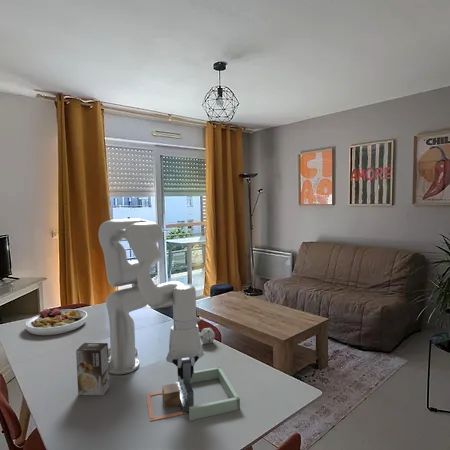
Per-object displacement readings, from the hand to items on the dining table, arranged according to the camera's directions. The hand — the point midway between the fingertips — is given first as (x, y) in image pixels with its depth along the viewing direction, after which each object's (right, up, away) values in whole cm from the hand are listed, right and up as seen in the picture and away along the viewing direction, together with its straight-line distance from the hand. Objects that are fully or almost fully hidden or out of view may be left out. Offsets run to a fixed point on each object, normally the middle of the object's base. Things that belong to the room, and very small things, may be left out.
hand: (185, 376), depth 106 cm
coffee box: (-33, -8, +6) cm, 35 cm away
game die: (+5, -6, +44) cm, 45 cm away
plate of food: (-79, -6, +68) cm, 104 cm away
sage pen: (+7, -8, +3) cm, 11 cm away
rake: (0, -7, 0) cm, 7 cm away
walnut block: (-5, -8, -1) cm, 9 cm away
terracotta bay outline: (-6, -8, -2) cm, 11 cm away
